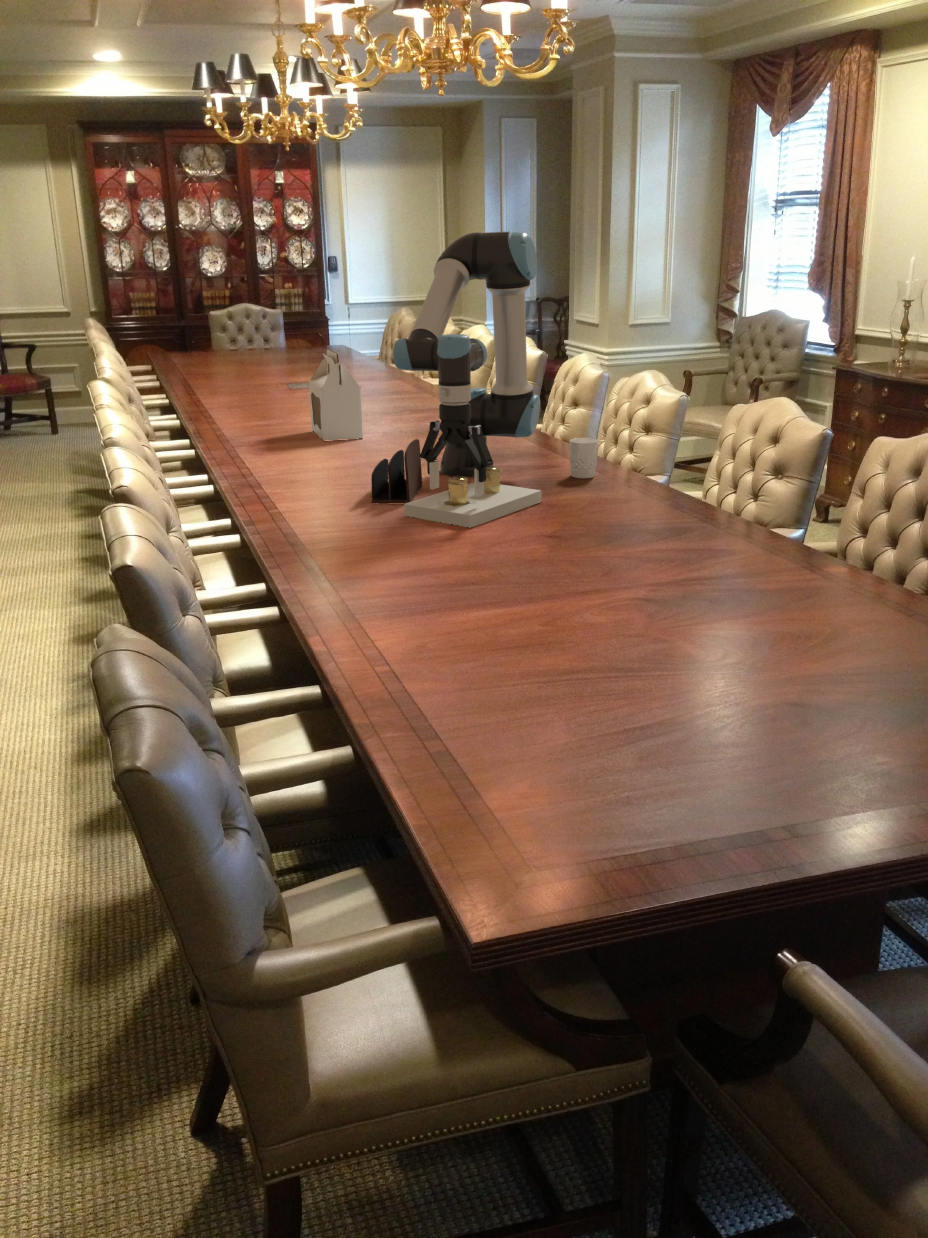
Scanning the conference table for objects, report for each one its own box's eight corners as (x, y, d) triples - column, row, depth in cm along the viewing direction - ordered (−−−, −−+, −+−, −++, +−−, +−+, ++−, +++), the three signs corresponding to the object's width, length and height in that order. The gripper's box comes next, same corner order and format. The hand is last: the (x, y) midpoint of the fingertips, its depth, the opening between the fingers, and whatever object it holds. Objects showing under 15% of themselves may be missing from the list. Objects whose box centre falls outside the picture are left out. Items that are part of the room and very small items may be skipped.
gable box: (312, 431, 371) (306, 349, 362) (348, 428, 375) (344, 347, 365) (324, 442, 351) (319, 355, 342) (363, 439, 355) (359, 353, 346)
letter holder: (422, 487, 287) (421, 435, 282) (409, 504, 269) (407, 449, 264) (386, 486, 288) (384, 435, 283) (371, 504, 270) (368, 449, 265)
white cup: (596, 479, 292) (597, 443, 288) (567, 478, 293) (568, 442, 290) (598, 473, 299) (599, 437, 296) (570, 472, 301) (571, 437, 297)
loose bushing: (445, 515, 257) (444, 478, 254) (456, 511, 261) (456, 475, 258) (460, 518, 254) (459, 481, 251) (471, 514, 258) (471, 477, 255)
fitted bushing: (478, 503, 268) (477, 468, 265) (488, 500, 271) (488, 465, 268) (492, 506, 265) (492, 470, 262) (503, 502, 268) (503, 467, 265)
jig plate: (404, 515, 257) (404, 503, 256) (477, 492, 280) (477, 480, 279) (470, 527, 246) (470, 515, 245) (541, 501, 268) (541, 490, 267)
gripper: (403, 400, 253) (407, 488, 260) (488, 409, 238) (489, 501, 246) (423, 396, 258) (426, 482, 266) (507, 404, 244) (508, 495, 251)
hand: (456, 491), depth 256 cm, fingers open, 13 cm apart
